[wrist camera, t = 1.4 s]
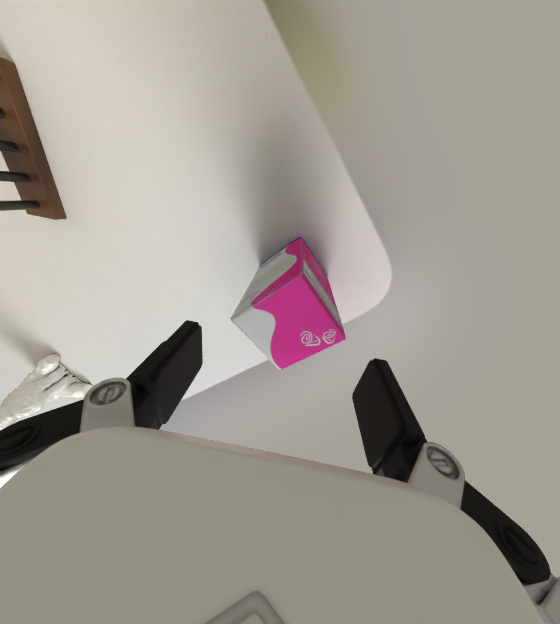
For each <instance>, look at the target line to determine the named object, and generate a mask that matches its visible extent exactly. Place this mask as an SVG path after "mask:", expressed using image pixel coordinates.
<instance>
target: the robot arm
mask: <svg viewBox="0 0 560 624" xmlns="http://www.w3.org/2000/svg"><path fill="white" fill-rule="evenodd" d="M201 366H202V328H201V326H200V325H199V324H198V322H193V321H188V320H187V321H185V322H184V323H183V324H182V325H181V326H180V327H179V328H178V329H177V330H176V332H175V333H174V334H173V335H172V336H171V337H170V338H169V339H168V340H167V341H164V342H163V343H161V344H160V345H159V346H158V347H157V348H156V349H155V350H154V351H153V352H152V353H151V354H150V355H149V356H148V357H147V358H146V359H145V360H144V361H143V362H142V363H141V364H140V365H139V366H138V367H137V368H136V369H135V370H134V371H133V372H132V373H131V374H130V375H129V376H128V377H127V378H126V379H124V378H112V379H107V380H105V381H102V382H100V383H98V384H96V385H95V386H93V387H92V388H91V389H90V390H89V391H88V392H87V393H86V395H85V398H84V399H83V400H80V401H77V402H74V403H71V404H68V405H65V406H63V407H60V408H57V409H54V410H51V411H48V412H45V413H42V414H39V415H36V416H33V417H30V418H27V419H24V420H21V421H19V422H16V423H14V424H11V425H9V426H8V427H6V428H4V429H2V430H1V431H0V624H560V577H558V578H555V577H554V576H553V575H552V573H551V572H550V568H549V564H548V562H547V560H546V558H545V556H544V554H543V553H542V551H541V550H540V548H539V547H538V546H537V544H536V543H535V542H534V540H533V539H532V538H531V537H530V536H529V535H528V534H527V533H526V532H525V531H524V530H523V529H522V528H521V527H520V526H519V525H518V524H516V523H515V522H514V521H513V520H511V519H510V518H509V517H508V516H507V515H506V514H505V513H503V512H502V511H501V510H500V509H499V508H497V507H496V506H495V505H494V504H493V503H491V502H490V501H489V500H488V499H487V498H485V497H484V496H483V495H482V494H481V493H480V492H478V491H477V490H476V489H475V488H474V487H472V486H471V485H470V484H469V483H467V482H466V481H465V474H464V471H463V468H462V466H461V465H460V463H459V462H458V460H457V459H456V458H455V457H454V456H453V455H452V454H451V453H450V452H449V451H448V450H447V449H445V448H444V447H442V446H441V445H438V444H436V443H433V442H427V440H426V439H425V435H424V433H423V431H422V429H421V427H420V425H419V423H418V421H417V420H416V418H415V416H414V414H413V412H412V410H411V408H410V406H409V404H408V402H407V400H406V398H405V396H404V394H403V392H402V390H401V388H400V386H399V384H398V382H397V380H396V378H395V376H394V374H393V372H392V370H391V368H390V366H389V364H388V362H387V361H385V360H380V359H376V358H375V359H373V361H372V360H371V361H370V362H369V363H368V365H367V367H366V369H365V371H364V373H363V375H362V377H361V379H360V380H359V383H358V384H357V386H356V388H355V390H354V392H353V397H352V399H353V403H354V407H355V412H356V415H357V420H358V424H359V429H360V432H361V437H362V441H363V445H364V450H365V454H366V458H367V462H368V465H369V466H370V467H372V471H373V474H370V473H365V472H361V471H357V470H352V469H347V468H343V467H338V466H333V465H328V464H324V463H319V462H315V461H310V460H306V459H301V458H296V457H291V456H286V455H281V454H277V453H272V452H267V451H263V450H258V449H253V448H248V447H243V446H238V445H234V444H229V443H224V442H219V441H214V440H209V439H203V438H199V437H194V436H189V435H184V434H179V433H173V432H168V431H162V430H159V429H160V427H161V425H162V424H165V423H166V422H167V421H168V420H169V418H170V417H171V415H172V414H173V412H174V410H175V409H176V407H177V406H178V404H179V402H180V401H181V399H182V397H183V396H184V394H185V393H186V391H187V389H188V388H189V386H190V385H191V383H192V381H193V380H194V378H195V376H196V375H197V373H198V372H199V370H200V368H201Z"/></svg>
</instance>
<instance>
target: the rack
mask: <svg viewBox="0 0 560 624" xmlns="http://www.w3.org/2000/svg"><path fill="white" fill-rule="evenodd" d="M0 150H1V152H2V155H3V157H4V160H5V162H6V164H7V167H8V169H9V171H10V172H8V171H0V181H10V182H14V183H15V186H16V188H17V190H18V193H19V195H20V197H21V200H19V201H0V211H5V210H26V212H27V214H30V215H35V216H40V217H45V218H50V219H55V220H57V219H66V216H65V213H64V210H63V207H62V204H61V201H60V198H59V195H58V192H57V189H56V186H55V183H54V180H53V177H52V174H51V171H50V168H49V165H48V162H47V159H46V156H45V153H44V151H43V148H42V145H41V142H40V139H39V136H38V133H37V130H36V127H35V124H34V121H33V118H32V115H31V112H30V109H29V106H28V103H27V100H26V97H25V94H24V91H23V88H22V85H21V82H20V79H19V76H18V73H17V70H16V67H15V65H14V63H12V62H10V61H8V60H6V59H3V58H1V57H0Z"/></svg>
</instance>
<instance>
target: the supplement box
mask: <svg viewBox="0 0 560 624" xmlns="http://www.w3.org/2000/svg"><path fill="white" fill-rule="evenodd" d="M231 321H232V322H233V323H234V324H235V325H236V326H237V327H238V328H239V329H240V330H241V331H242V332H243V333H244V334H245V335H246V336H247V337H248V338H249V339H250V340H251V341H252V342H253V343H254V344H255V345H256V346H257V347H258V348H259V349H260V350H261V351H262V353H263V354H264V355H265V356H266V357H267V358H268V359H269V360H270V361H271V362H272V363H273V364H274V365H275V366H276V367H277V368H278V369H279V370H282V369H283V368H285V367H288V366H290V365H292V364H294V363H296V362H298V361H300V360H303V359H305V358H307V357H309V356H311V355H313V354H315V353H317V352H320V351H321V350H324V349H326V348H328V347H330V346H332V345H334V344H337V343H339V342H341V341H343V340H345V339H346V338H345V334H344V330H343V327H342V323H341V320H340V317H339V314H338V310H337V307H336V304H335V301H334V298H333V294H332V291H331V287H330V284H329V281H328V278H327V276H326V274H325V273H324V271H323V270H322V268H321V267H320V265H319V263H318V262H317V260H316V259H315V257H314V256H313V254H312V253H311V251H310V249H309V248H308V246H307V245H306V243H305V242H304V240H303V239H302V238H301V237H299V238H297V239H296V240H294V241H293V242H291V243H290V244H289V245H287V246H286V247H284V248H283V249H282V250H280V251H279V252H278V253H276V254H275V255H274V256H272V257H271V258H269V259H268V260H267V261H266V262H264V263H263V264H262V265H260V267H259V269H258V271H257V273H256V275H255V276H254V278H253V280H252V282H251V283H250V285H249V287H248V289H247V290H246V292H245V294H244V296H243V298H242V300H241V301H240V303H239V305H238V307H237V308H236V310H235V312H234V314H233V316H232V317H231Z"/></svg>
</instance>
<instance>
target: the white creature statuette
mask: <svg viewBox="0 0 560 624" xmlns="http://www.w3.org/2000/svg"><path fill="white" fill-rule="evenodd" d="M60 357H61V356H58V354H53V355H49V356H47V357H45V358H42V359H40V361H39V363H37V366H36V368H35V369H34V370H33V372H31V373H29V375H28V376H27V378H25V379H24V381H23V382H22V383H21V385H19V387H18V388H17V389H15V390H13V392H11V393H10V394H8V396H7V398H5V399H4V400H3V402H2V404H1V407H0V431H1V430H2V429H4V428H6V427H8V426H9V425H11V424H14V423H16V419H17V418H21V417H23V416H24V417H26V416H29V415H30V414H32V413H34V412H37V411H38V410H40V409H42V408H44V407H45V406H46V404H47V403H49V401H51V400H56V399H57V398H59V397H73V398H76V397H77V398H79V397H83V396H85V395H86V393H87V392H88V391H89V390H90V389H91V388H92V385H90V384H89V383H83V382H81V381H80V380H79V379H77V378H76V377H72V376H73V374H70V373H68V370H66V369H67V368H65V367H64V366H62V365H61V364H60V363H59V360H60ZM58 365H59V366H58ZM56 368H58V369H56ZM65 374H67V375H68V376H66V377H64V375H65Z"/></svg>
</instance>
